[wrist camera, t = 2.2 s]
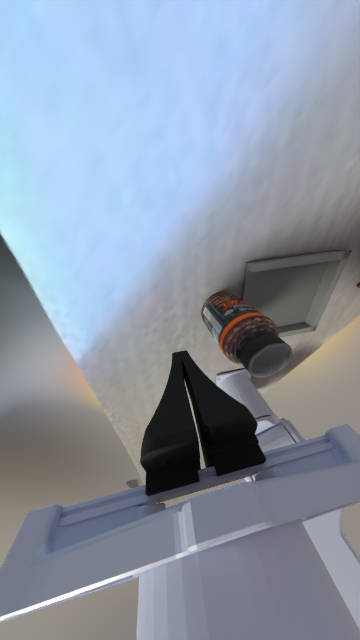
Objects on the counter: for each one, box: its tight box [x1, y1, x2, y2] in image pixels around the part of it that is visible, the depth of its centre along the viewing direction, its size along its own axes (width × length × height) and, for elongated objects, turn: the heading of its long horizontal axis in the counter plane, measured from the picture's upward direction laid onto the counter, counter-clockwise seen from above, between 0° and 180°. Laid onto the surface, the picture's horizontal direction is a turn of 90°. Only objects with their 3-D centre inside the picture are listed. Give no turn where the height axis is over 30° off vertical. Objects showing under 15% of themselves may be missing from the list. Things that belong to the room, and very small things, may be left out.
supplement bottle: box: [201, 293, 292, 378], centre depth 16 cm, size 6×6×11 cm
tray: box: [242, 250, 351, 338], centre depth 21 cm, size 13×14×2 cm
